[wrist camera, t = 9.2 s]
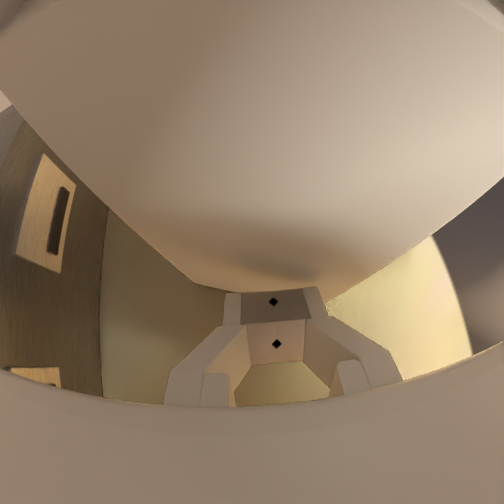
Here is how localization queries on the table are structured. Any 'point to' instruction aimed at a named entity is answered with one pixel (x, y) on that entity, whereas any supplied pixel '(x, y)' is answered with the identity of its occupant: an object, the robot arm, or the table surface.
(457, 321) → the table surface
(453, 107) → the milk carton
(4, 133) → the grey rectangular box
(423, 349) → the table surface
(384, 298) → the table surface
